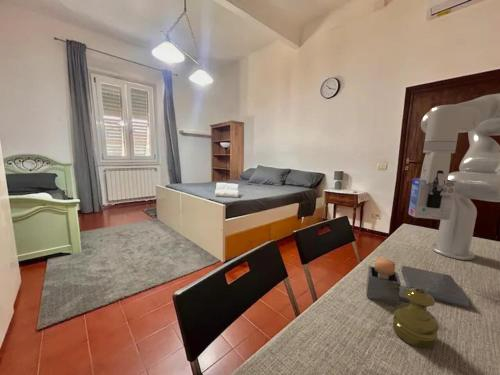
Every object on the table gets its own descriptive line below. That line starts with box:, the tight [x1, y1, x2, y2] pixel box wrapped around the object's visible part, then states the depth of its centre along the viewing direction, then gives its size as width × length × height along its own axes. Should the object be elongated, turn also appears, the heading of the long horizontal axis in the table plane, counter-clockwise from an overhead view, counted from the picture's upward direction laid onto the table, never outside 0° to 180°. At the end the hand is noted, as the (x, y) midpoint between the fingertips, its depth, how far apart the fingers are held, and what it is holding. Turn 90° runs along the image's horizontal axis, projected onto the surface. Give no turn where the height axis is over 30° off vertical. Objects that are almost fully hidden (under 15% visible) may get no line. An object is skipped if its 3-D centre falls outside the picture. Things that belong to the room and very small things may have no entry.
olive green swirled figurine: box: [392, 288, 440, 350], centre depth 46 cm, size 7×7×10 cm
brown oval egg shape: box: [374, 257, 396, 280], centre depth 58 cm, size 4×4×6 cm
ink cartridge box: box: [408, 178, 456, 221], centre depth 70 cm, size 10×6×14 cm, turn 78°
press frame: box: [365, 265, 470, 309], centre depth 62 cm, size 21×22×6 cm
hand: (429, 205), depth 71 cm, fingers closed on ink cartridge box, 6 cm apart
